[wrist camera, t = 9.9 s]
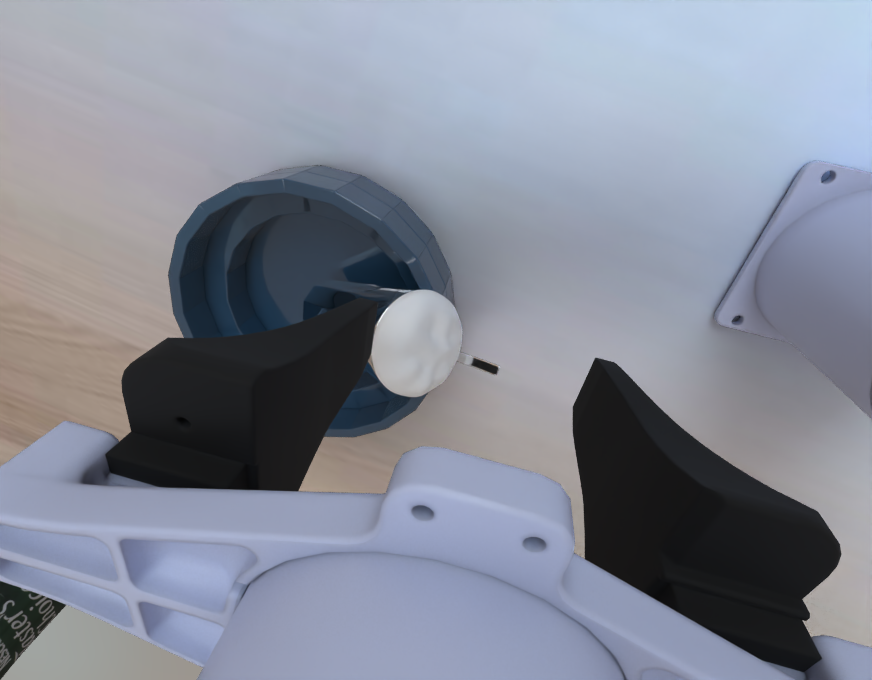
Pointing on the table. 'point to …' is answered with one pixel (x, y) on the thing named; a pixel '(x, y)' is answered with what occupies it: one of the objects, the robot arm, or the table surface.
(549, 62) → the table surface
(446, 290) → the bowl
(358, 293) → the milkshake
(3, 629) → the coffee jar
